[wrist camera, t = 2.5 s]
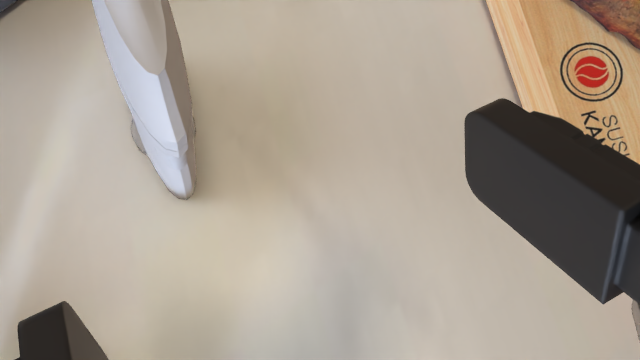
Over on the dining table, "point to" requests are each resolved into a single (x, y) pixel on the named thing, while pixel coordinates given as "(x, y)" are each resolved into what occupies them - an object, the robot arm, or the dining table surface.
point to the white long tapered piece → (153, 85)
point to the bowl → (5, 4)
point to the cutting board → (577, 63)
